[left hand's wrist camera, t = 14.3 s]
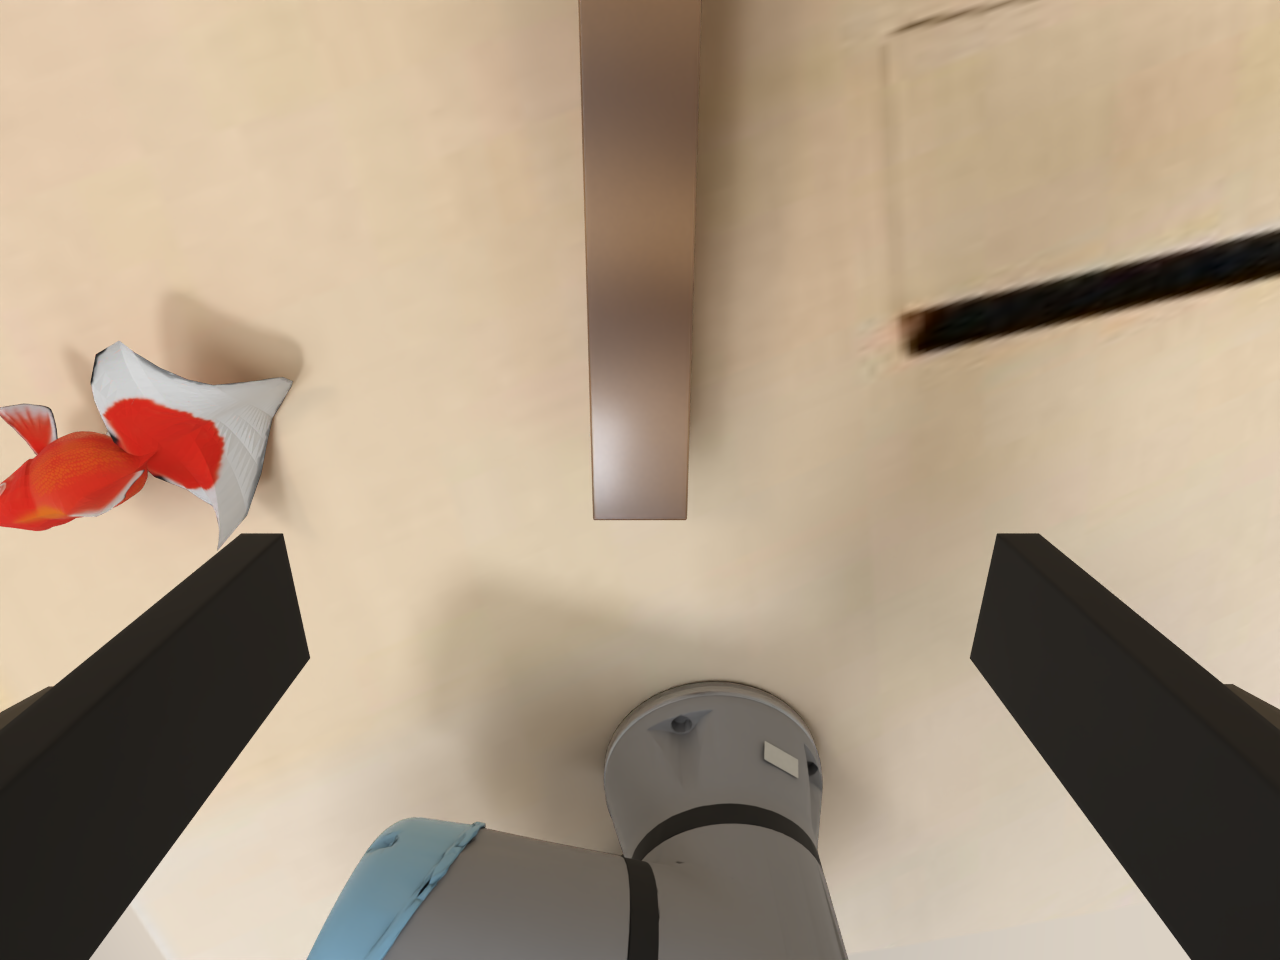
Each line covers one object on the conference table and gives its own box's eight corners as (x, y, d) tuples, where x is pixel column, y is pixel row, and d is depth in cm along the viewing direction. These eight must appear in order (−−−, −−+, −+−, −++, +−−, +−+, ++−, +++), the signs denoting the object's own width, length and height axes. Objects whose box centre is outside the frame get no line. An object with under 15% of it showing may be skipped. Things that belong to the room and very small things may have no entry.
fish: (-90, 337, 33) (-164, 451, 26) (262, 279, 38) (276, 361, 31) (36, 501, 40) (4, 626, 33) (318, 433, 45) (340, 527, 38)
